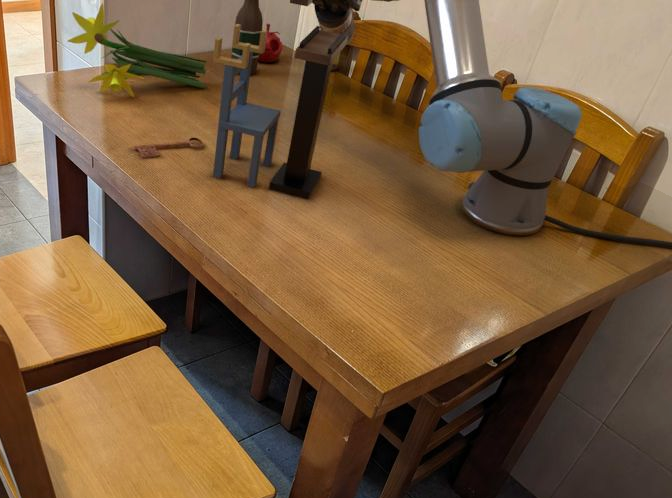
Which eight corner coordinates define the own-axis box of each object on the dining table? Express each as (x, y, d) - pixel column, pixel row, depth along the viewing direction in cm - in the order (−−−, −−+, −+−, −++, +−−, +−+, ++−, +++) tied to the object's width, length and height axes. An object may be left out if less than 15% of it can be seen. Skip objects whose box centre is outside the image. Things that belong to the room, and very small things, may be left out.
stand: (285, 165, 134) (311, 23, 116) (322, 174, 132) (355, 31, 114) (265, 193, 124) (290, 42, 106) (305, 204, 122) (338, 52, 104)
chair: (222, 151, 136) (237, 23, 119) (271, 164, 134) (293, 35, 117) (201, 174, 127) (214, 39, 111) (254, 188, 125) (275, 52, 108)
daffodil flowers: (218, 103, 158) (86, 75, 138) (185, 115, 170) (59, 91, 150) (219, 31, 156) (85, -8, 136) (186, 48, 168) (58, 15, 148)
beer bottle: (251, 65, 180) (264, -33, 164) (261, 75, 174) (275, -25, 158) (224, 66, 177) (235, -34, 162) (234, 76, 172) (246, -26, 156)
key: (139, 159, 130) (208, 153, 135) (139, 155, 129) (209, 149, 134) (131, 145, 134) (198, 139, 139) (131, 140, 133) (199, 135, 138)
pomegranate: (241, 60, 182) (246, 25, 176) (250, 51, 189) (255, 16, 183) (275, 67, 180) (281, 31, 174) (283, 57, 188) (289, 23, 182)
